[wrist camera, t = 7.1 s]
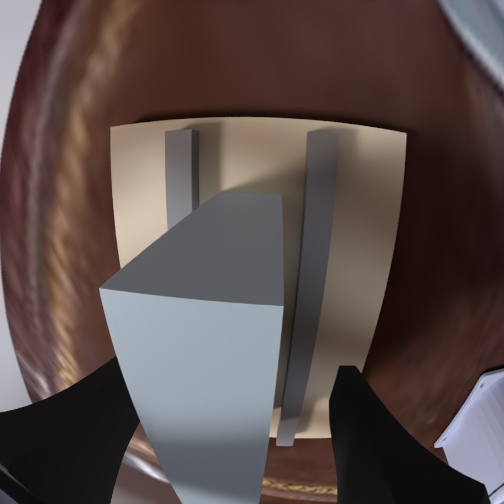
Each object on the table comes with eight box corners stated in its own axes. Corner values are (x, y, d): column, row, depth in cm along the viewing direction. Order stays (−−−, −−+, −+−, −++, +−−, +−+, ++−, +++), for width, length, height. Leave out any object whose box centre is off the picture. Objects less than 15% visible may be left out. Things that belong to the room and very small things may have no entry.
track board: (334, 424, 17) (337, 449, 15) (163, 409, 18) (154, 431, 16) (395, 134, 10) (417, 132, 8) (124, 127, 11) (97, 126, 9)
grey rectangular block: (266, 409, 15) (253, 534, 7) (225, 405, 15) (197, 527, 8) (281, 194, 11) (283, 305, 3) (218, 192, 11) (98, 288, 3)
